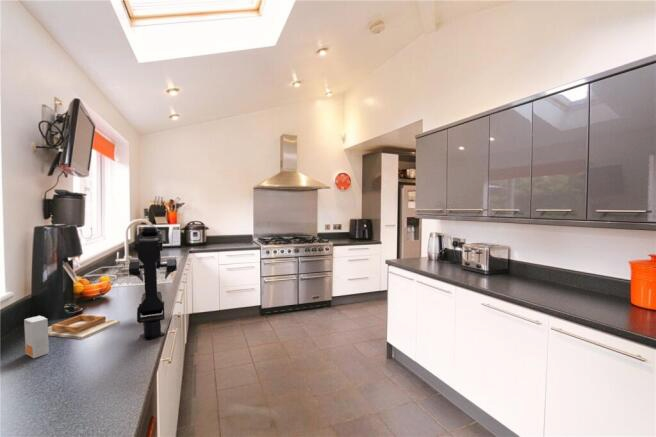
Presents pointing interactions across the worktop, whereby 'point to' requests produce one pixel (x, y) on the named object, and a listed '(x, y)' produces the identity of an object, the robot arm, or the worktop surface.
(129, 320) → the worktop surface
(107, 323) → the socket stand
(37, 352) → the skincare box
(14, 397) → the worktop surface
